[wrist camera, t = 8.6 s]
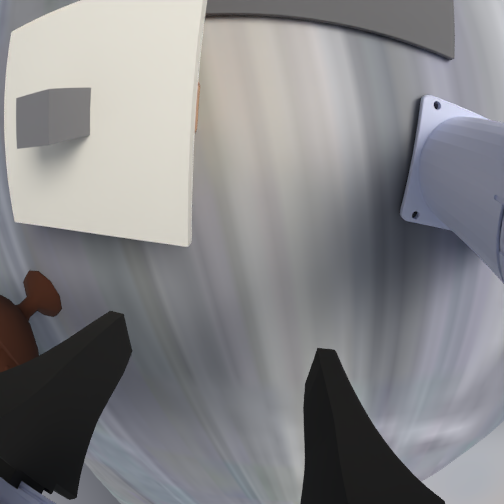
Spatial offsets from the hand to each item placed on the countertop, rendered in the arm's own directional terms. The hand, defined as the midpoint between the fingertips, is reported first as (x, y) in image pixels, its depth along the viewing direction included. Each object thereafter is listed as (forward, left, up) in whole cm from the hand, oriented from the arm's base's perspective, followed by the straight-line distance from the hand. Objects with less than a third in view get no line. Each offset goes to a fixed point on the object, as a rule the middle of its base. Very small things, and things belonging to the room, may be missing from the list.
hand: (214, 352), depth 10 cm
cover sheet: (+9, -8, -5) cm, 13 cm away
